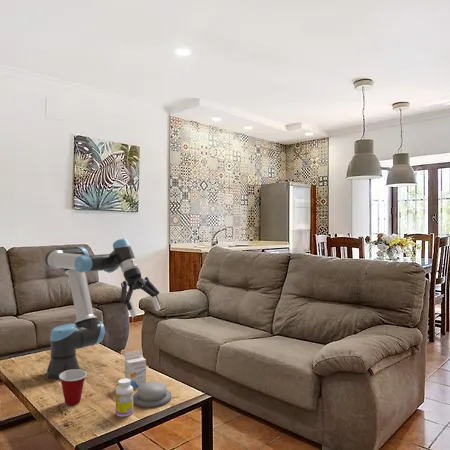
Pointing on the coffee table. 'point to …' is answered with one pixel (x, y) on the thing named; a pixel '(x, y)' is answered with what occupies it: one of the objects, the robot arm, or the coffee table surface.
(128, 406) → the supplement bottle
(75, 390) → the plastic cup
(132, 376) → the ink box
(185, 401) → the coffee table surface
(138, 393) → the grey hat
